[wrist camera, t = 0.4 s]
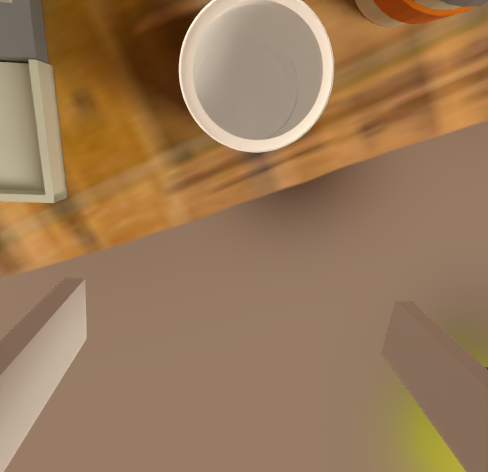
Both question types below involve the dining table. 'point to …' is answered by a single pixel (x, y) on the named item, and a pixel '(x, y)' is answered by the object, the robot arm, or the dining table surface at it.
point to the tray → (30, 134)
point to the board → (22, 31)
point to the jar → (256, 72)
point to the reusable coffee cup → (412, 10)
